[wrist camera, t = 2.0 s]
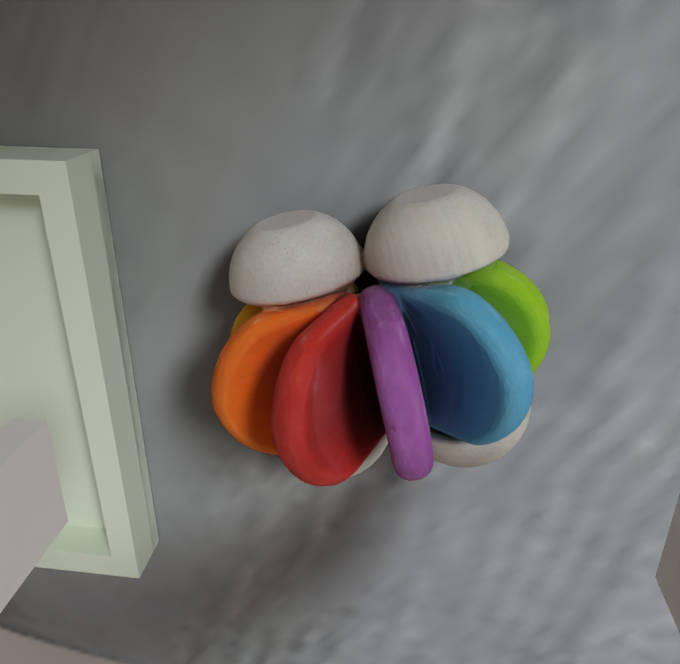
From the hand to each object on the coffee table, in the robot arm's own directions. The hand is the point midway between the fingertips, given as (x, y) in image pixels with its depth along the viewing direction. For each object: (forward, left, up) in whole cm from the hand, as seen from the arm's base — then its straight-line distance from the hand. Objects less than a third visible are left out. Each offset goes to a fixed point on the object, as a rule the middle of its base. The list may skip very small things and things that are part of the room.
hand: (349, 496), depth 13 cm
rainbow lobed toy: (0, 0, -9) cm, 9 cm away
